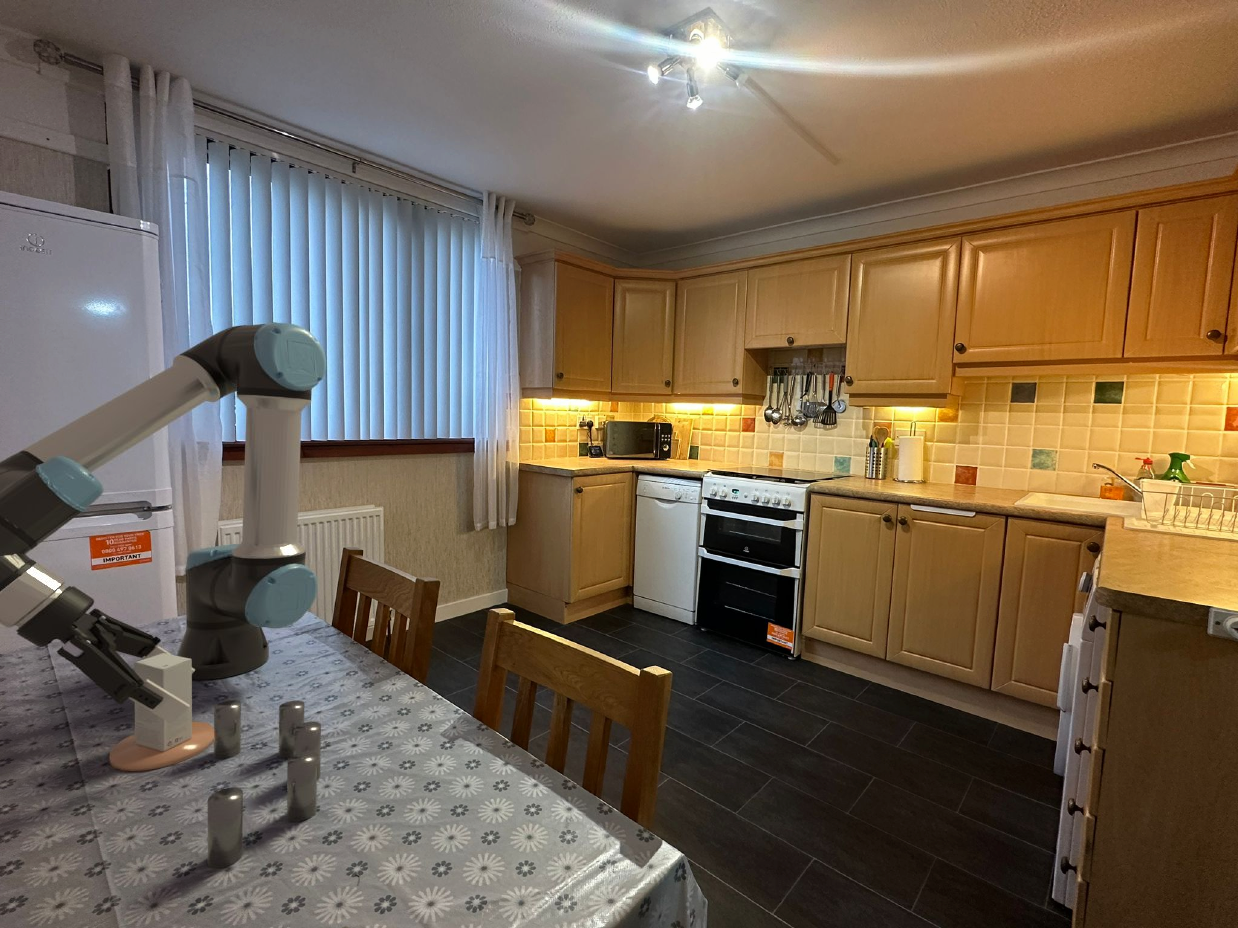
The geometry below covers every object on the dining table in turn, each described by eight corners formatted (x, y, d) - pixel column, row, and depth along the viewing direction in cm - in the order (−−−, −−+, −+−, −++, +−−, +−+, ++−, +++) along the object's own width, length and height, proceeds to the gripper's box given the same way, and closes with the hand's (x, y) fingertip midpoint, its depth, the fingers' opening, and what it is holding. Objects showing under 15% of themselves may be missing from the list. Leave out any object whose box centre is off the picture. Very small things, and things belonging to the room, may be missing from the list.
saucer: (181, 719, 93) (181, 714, 93) (233, 737, 89) (233, 732, 89) (89, 757, 82) (89, 751, 82) (144, 779, 78) (144, 773, 78)
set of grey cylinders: (255, 732, 91) (256, 687, 90) (376, 771, 82) (377, 722, 81) (92, 812, 71) (91, 755, 71) (227, 875, 62) (227, 811, 62)
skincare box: (193, 738, 87) (193, 658, 86) (162, 753, 83) (162, 669, 82) (164, 730, 89) (164, 651, 88) (133, 743, 85) (132, 661, 84)
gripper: (39, 603, 86) (169, 683, 96) (-22, 663, 66) (151, 758, 75) (87, 564, 89) (209, 645, 98) (43, 610, 68) (202, 708, 77)
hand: (184, 694), depth 87 cm, fingers open, 13 cm apart
